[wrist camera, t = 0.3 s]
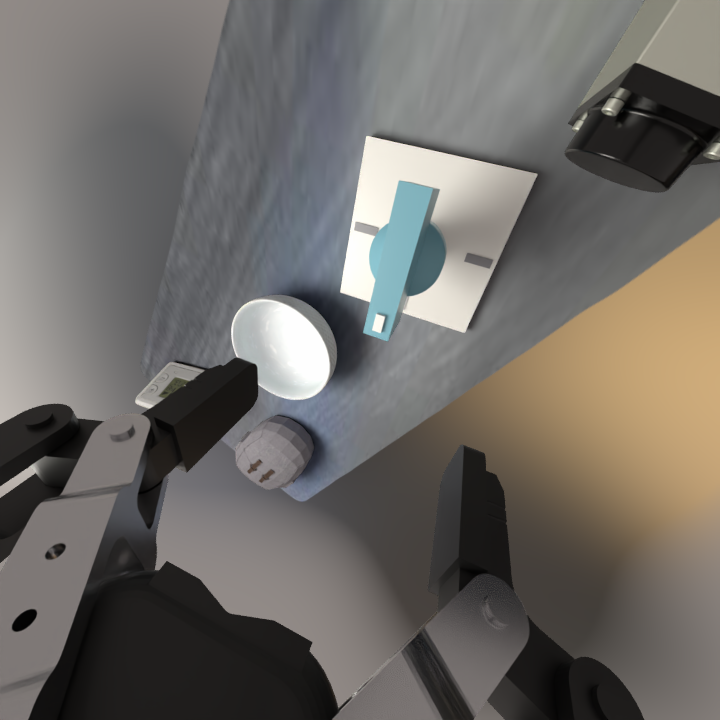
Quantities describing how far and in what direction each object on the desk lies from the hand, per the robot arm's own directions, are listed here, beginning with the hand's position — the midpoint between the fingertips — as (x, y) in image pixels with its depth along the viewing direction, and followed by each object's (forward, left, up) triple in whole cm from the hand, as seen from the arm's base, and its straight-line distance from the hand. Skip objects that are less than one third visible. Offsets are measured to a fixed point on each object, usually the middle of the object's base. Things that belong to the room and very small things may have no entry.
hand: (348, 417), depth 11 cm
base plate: (-1, -2, -31) cm, 31 cm away
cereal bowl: (+18, -17, -31) cm, 40 cm away
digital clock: (+37, -39, -31) cm, 62 cm away
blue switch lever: (-1, -2, -23) cm, 23 cm away
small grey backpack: (+47, -19, -31) cm, 59 cm away
